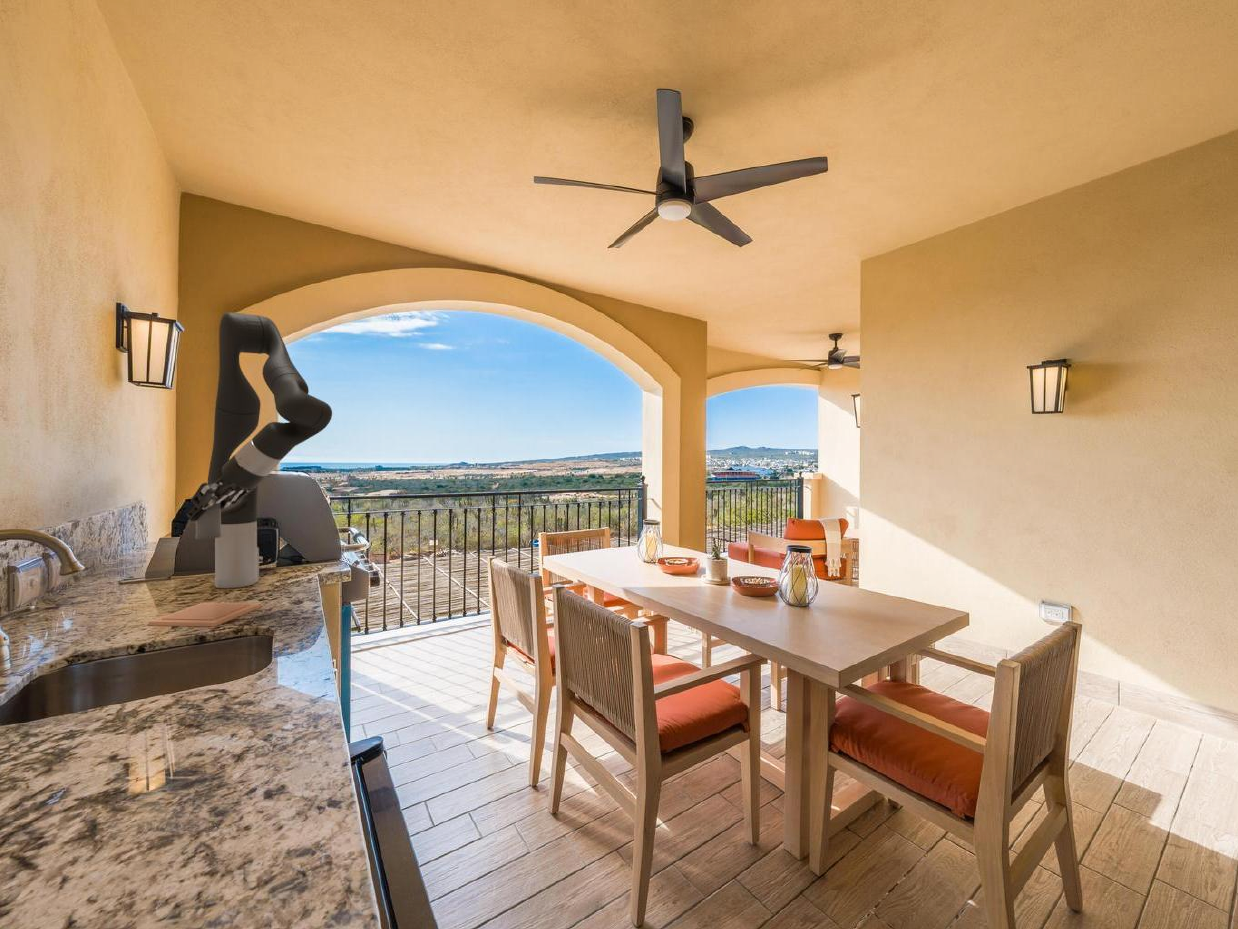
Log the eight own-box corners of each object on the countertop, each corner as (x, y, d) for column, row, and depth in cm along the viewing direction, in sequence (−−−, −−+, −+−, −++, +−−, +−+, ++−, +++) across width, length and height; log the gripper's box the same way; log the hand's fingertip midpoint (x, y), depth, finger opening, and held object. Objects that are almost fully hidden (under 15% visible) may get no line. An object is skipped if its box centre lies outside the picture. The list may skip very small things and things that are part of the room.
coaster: (202, 605, 122) (202, 601, 122) (261, 606, 122) (261, 602, 122) (148, 625, 108) (148, 620, 108) (214, 626, 108) (214, 621, 108)
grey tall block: (206, 535, 117) (206, 487, 117) (226, 536, 117) (225, 487, 117) (190, 539, 113) (190, 488, 112) (210, 539, 113) (210, 488, 112)
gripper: (263, 451, 121) (212, 501, 122) (216, 450, 107) (158, 508, 107) (286, 473, 121) (235, 524, 122) (241, 476, 107) (183, 534, 108)
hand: (199, 516), depth 115 cm, fingers closed on grey tall block, 4 cm apart
